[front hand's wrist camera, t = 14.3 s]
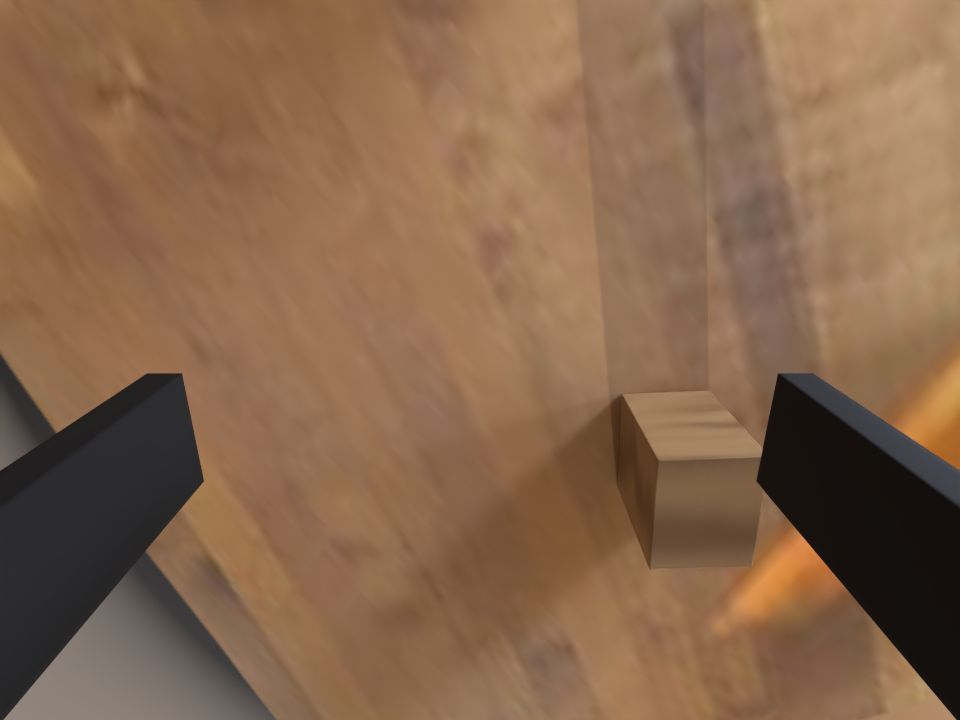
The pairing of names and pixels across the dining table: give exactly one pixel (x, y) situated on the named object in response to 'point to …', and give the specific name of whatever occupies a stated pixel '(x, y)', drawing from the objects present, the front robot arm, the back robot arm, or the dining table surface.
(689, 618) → the dining table surface
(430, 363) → the dining table surface
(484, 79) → the dining table surface
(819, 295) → the dining table surface
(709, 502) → the block
